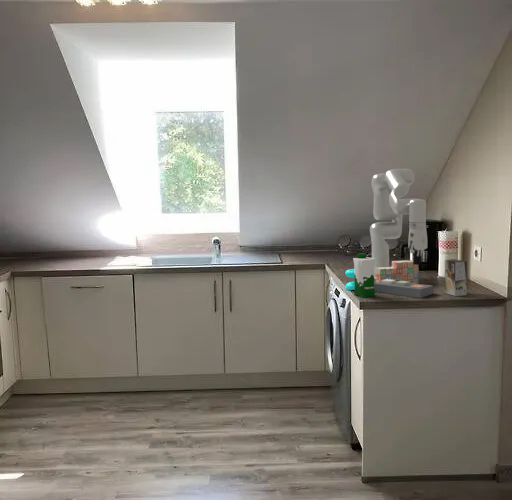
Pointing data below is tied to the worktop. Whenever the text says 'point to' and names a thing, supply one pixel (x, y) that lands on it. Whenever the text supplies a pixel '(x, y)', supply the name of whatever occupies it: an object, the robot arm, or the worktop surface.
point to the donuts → (351, 274)
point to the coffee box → (456, 277)
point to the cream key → (388, 281)
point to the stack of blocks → (399, 272)
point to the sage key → (402, 283)
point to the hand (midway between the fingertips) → (417, 264)
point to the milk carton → (364, 275)
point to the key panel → (404, 289)
